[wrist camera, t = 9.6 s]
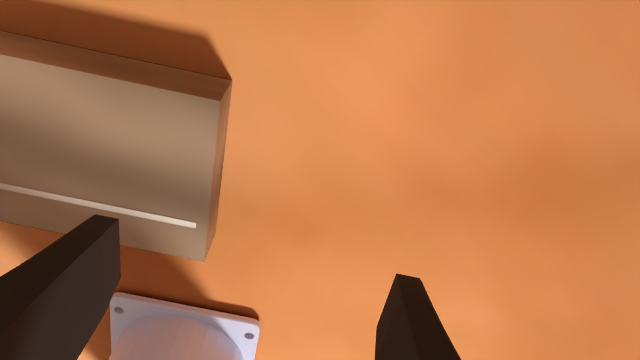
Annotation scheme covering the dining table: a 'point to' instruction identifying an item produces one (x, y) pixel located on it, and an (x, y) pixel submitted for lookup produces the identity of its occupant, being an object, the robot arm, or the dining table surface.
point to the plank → (110, 144)
